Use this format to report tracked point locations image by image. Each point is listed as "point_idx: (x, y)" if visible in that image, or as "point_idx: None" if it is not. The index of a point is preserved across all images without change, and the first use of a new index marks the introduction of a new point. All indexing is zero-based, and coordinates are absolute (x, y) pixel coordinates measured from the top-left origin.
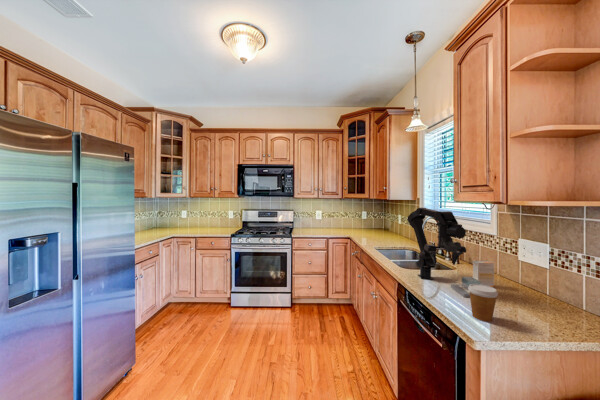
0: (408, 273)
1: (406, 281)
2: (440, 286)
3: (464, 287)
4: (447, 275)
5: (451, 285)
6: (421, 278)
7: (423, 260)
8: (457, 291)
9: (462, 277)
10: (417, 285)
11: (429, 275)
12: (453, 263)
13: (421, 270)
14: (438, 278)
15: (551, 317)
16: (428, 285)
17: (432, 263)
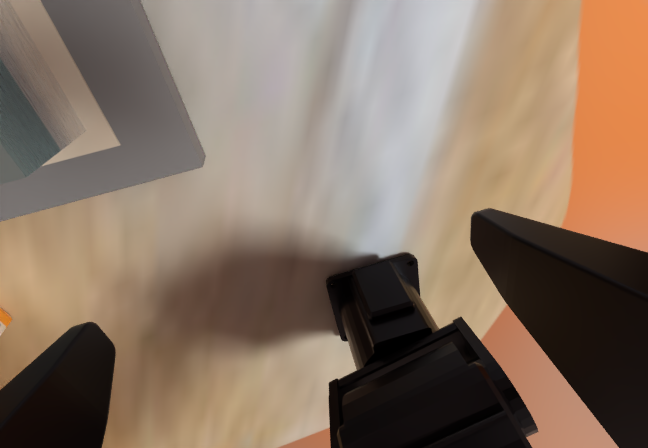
0: (468, 324)
1: (557, 147)
2: (297, 131)
3: (42, 66)
4: (209, 396)
5: (195, 145)
6: (415, 258)
7: (514, 388)
8: (138, 2)
9: (14, 156)
10: (505, 73)
11: (368, 285)
12: (88, 354)
13: (434, 322)
14: (281, 317)
15: None
16: (403, 115)
17: (385, 391)
